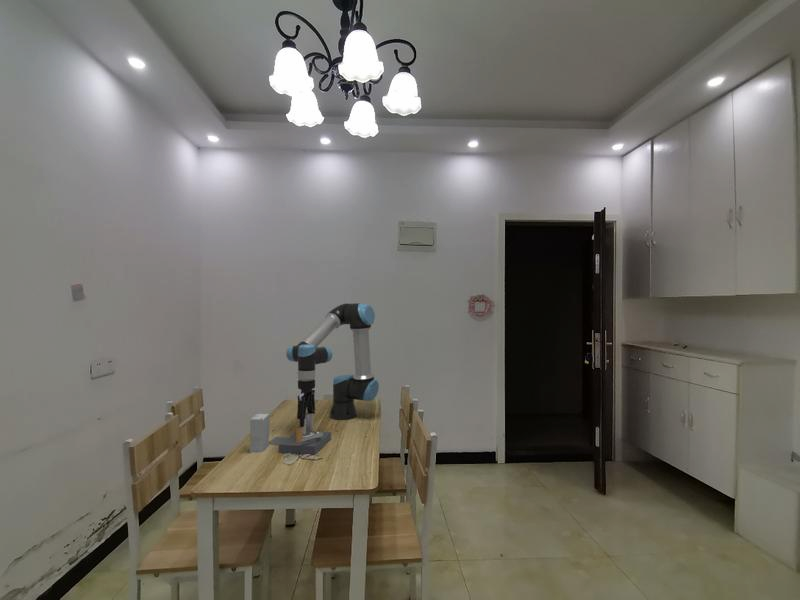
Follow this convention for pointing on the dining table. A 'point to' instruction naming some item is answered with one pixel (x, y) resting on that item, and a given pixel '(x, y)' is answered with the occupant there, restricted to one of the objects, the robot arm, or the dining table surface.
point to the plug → (308, 426)
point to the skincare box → (259, 432)
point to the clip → (300, 439)
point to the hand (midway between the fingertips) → (306, 430)
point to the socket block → (304, 444)
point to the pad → (277, 440)
